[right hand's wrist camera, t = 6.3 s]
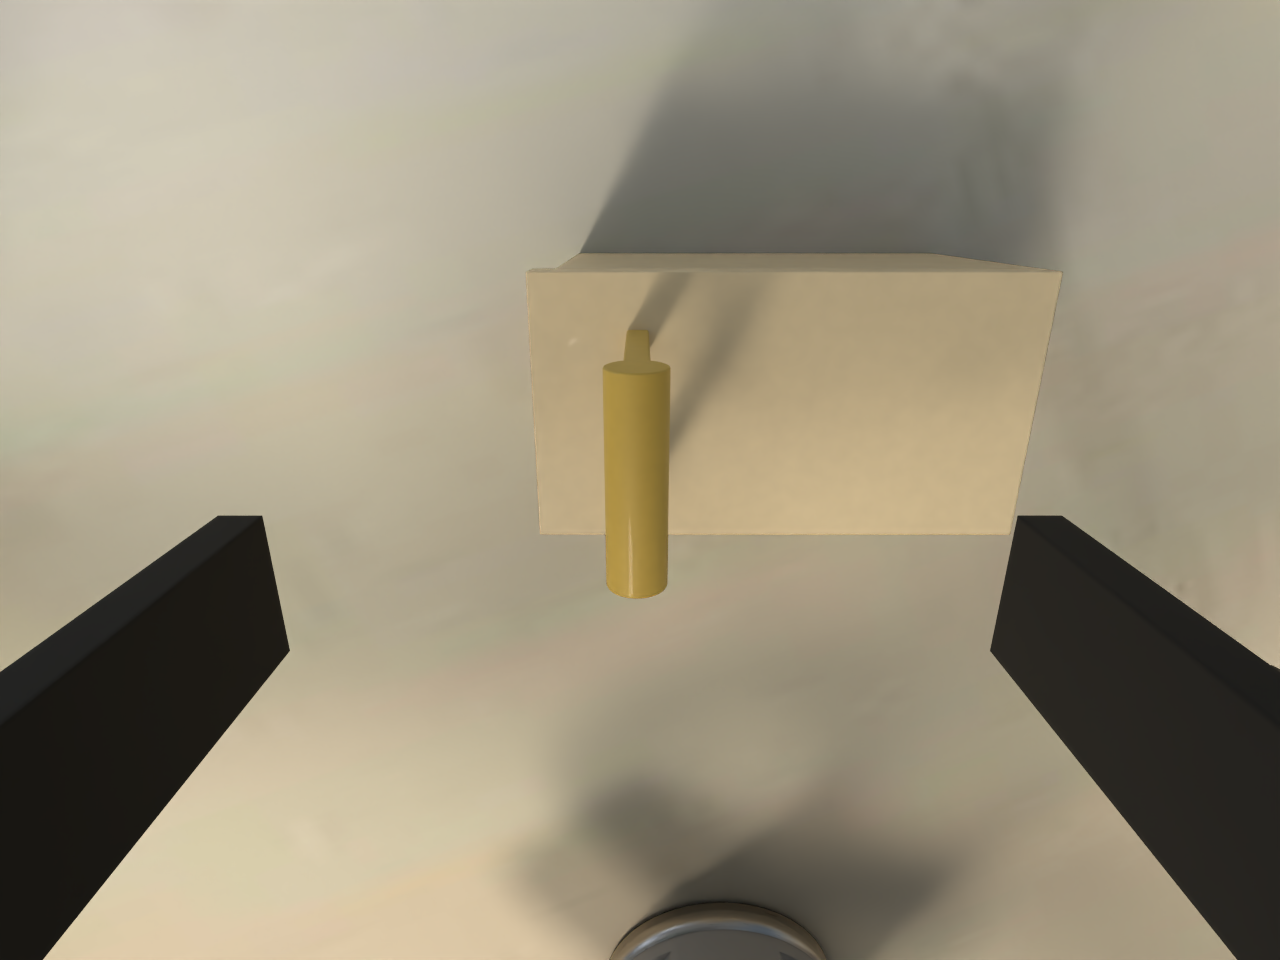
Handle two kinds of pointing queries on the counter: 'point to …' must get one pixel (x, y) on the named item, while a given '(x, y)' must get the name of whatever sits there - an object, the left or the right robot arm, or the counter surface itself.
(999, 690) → the counter surface
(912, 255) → the chest
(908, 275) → the lid
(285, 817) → the counter surface
